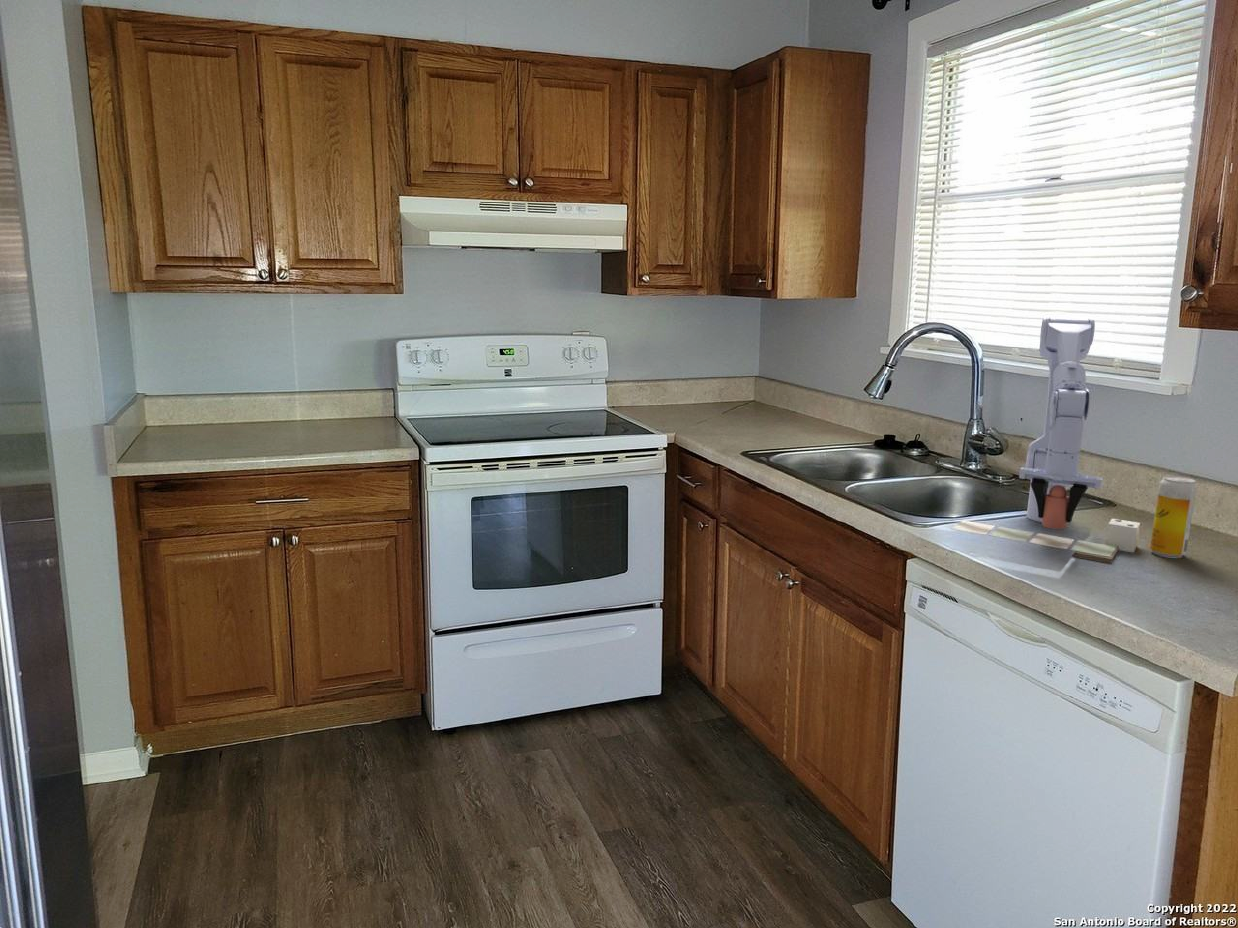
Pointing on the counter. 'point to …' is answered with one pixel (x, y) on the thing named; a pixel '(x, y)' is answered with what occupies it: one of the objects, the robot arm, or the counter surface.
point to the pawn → (1056, 508)
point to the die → (1123, 534)
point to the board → (1045, 541)
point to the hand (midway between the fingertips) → (1054, 519)
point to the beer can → (1173, 516)
